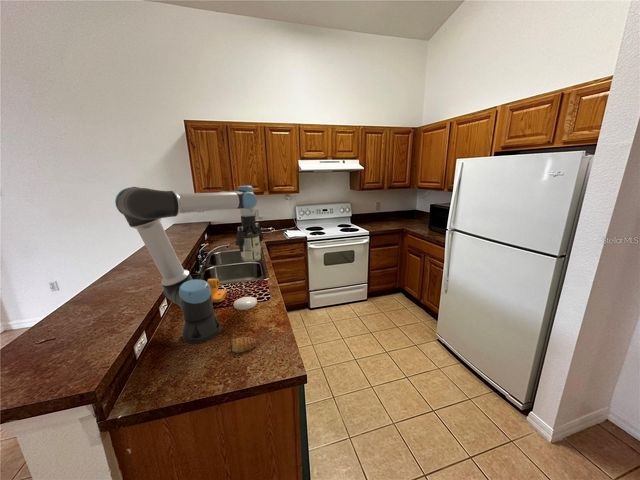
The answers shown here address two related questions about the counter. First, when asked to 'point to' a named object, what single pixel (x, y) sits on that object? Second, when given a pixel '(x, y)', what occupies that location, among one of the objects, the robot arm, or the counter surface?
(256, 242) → the coffee can
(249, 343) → the pastry
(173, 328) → the counter surface
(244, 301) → the plate
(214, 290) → the bracket
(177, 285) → the robot arm
